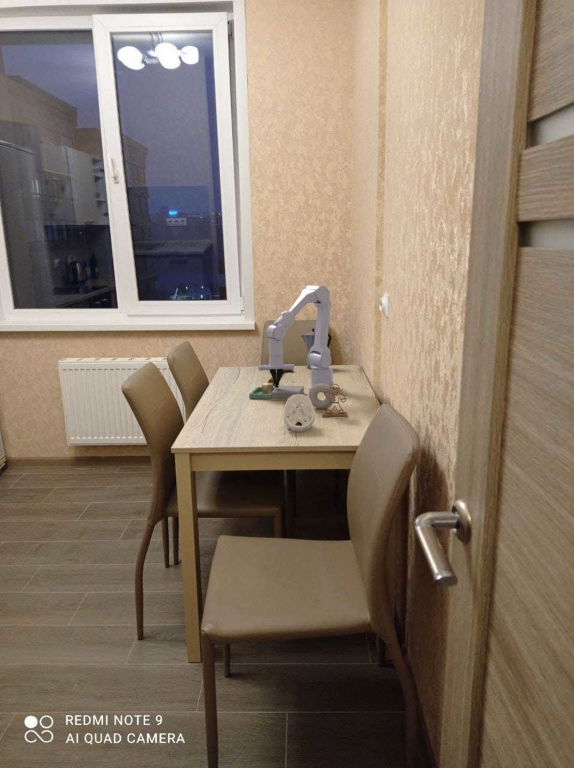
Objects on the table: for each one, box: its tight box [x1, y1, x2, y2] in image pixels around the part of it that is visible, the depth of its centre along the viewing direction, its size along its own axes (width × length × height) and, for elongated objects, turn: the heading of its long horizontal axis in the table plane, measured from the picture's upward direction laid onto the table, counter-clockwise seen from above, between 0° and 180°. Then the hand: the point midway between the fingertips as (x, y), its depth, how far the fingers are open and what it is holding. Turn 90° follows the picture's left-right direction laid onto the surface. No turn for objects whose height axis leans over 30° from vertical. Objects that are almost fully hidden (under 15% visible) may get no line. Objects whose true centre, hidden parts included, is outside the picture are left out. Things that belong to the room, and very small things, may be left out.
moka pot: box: [300, 328, 332, 370], centre depth 281 cm, size 10×15×20 cm, turn 82°
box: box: [248, 386, 275, 401], centre depth 233 cm, size 9×12×2 cm
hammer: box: [267, 370, 294, 387], centre depth 263 cm, size 12×3×30 cm
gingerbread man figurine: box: [321, 383, 348, 418], centre depth 202 cm, size 9×4×12 cm, turn 84°
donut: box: [308, 383, 334, 410], centre depth 211 cm, size 10×4×10 cm, turn 78°
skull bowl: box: [282, 394, 316, 433], centre depth 191 cm, size 10×14×12 cm
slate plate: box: [271, 384, 305, 401], centre depth 230 cm, size 11×12×3 cm
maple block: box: [261, 382, 274, 394], centre depth 234 cm, size 4×4×4 cm
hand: (276, 387), depth 231 cm, fingers closed
